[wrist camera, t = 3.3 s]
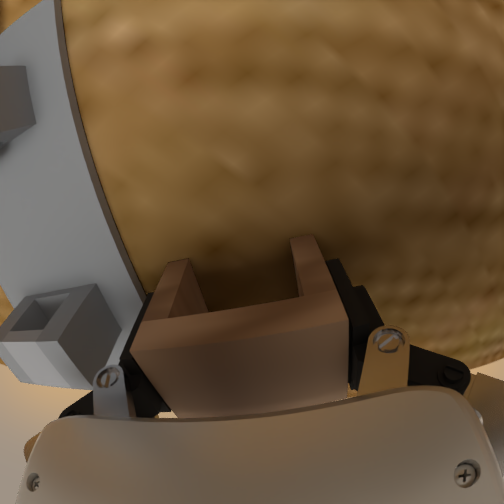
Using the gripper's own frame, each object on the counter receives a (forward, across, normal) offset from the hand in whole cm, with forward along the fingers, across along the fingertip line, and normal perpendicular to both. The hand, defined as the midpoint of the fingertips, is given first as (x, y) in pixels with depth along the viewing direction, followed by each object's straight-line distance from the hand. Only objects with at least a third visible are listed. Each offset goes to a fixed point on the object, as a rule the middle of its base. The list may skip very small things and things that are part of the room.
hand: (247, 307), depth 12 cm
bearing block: (+1, +10, -6) cm, 12 cm away
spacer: (+2, 0, 0) cm, 2 cm away
